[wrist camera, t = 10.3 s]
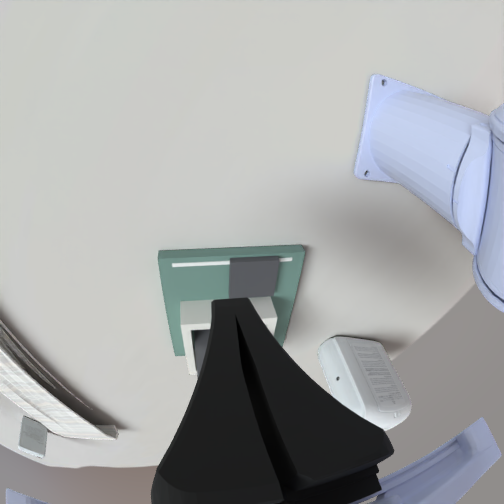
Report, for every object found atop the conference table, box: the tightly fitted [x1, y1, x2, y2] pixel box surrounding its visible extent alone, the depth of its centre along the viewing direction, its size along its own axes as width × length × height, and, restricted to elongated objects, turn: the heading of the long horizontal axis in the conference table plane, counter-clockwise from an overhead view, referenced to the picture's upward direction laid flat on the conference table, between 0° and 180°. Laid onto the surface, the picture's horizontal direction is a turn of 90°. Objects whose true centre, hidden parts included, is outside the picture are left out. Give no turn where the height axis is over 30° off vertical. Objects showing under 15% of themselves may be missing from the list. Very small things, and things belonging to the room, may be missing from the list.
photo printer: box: [318, 337, 412, 431], centre depth 29 cm, size 10×4×12 cm, turn 63°
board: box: [158, 245, 305, 375], centre depth 24 cm, size 11×12×4 cm
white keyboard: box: [0, 320, 119, 440], centre depth 26 cm, size 12×4×40 cm
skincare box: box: [18, 416, 48, 459], centre depth 34 cm, size 6×6×7 cm
